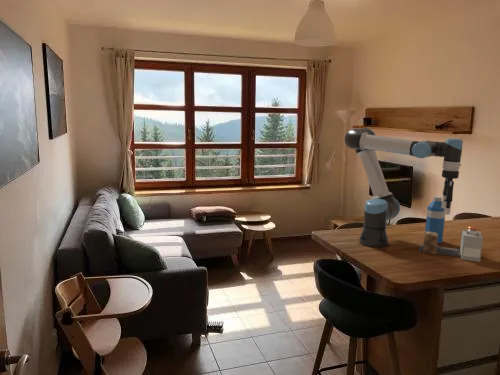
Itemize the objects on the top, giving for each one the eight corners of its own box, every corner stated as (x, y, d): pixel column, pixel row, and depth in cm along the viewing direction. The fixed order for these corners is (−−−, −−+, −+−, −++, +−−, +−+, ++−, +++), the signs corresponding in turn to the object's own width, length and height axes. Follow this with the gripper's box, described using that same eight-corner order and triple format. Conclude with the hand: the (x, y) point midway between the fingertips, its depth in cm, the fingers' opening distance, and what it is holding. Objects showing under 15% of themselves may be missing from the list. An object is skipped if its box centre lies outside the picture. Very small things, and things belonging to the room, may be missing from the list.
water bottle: (444, 244, 217) (449, 199, 212) (426, 243, 219) (430, 198, 214) (440, 239, 226) (444, 195, 221) (422, 238, 228) (426, 195, 223)
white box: (461, 259, 194) (464, 235, 192) (459, 253, 203) (462, 230, 201) (480, 262, 191) (483, 237, 188) (477, 255, 200) (480, 232, 198)
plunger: (467, 239, 194) (468, 227, 193) (466, 237, 198) (467, 225, 197) (477, 240, 193) (478, 228, 191) (476, 238, 196) (477, 226, 195)
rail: (419, 252, 204) (419, 246, 203) (419, 249, 208) (419, 243, 208) (458, 257, 197) (459, 251, 196) (457, 254, 201) (458, 248, 201)
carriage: (423, 252, 202) (424, 234, 200) (423, 248, 208) (424, 230, 207) (436, 254, 200) (437, 235, 198) (435, 250, 206) (437, 232, 204)
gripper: (462, 173, 186) (456, 217, 191) (456, 167, 209) (450, 206, 213) (444, 172, 189) (439, 215, 193) (440, 166, 212) (435, 205, 216)
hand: (445, 211), depth 203 cm, fingers open, 13 cm apart
